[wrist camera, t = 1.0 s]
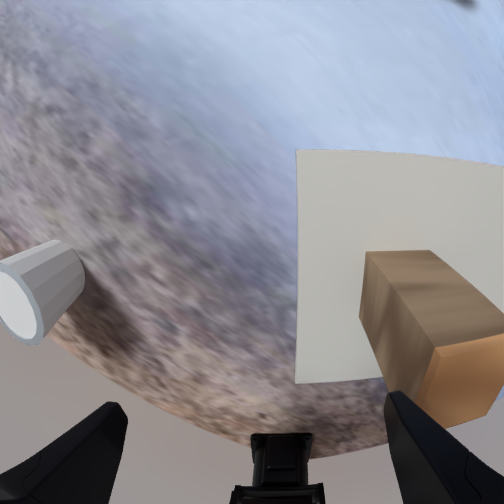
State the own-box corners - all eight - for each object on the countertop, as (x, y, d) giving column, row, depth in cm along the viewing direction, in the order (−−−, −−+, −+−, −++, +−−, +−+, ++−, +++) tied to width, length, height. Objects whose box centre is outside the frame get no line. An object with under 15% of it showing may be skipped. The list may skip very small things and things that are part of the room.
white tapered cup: (99, 306, 23) (56, 353, 17) (47, 302, 24) (4, 339, 17) (80, 229, 21) (23, 261, 14) (28, 235, 22) (-24, 262, 15)
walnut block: (418, 311, 20) (485, 415, 10) (358, 316, 20) (404, 438, 10) (429, 249, 18) (526, 336, 8) (365, 251, 19) (441, 357, 8)
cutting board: (506, 344, 22) (511, 349, 21) (294, 375, 24) (295, 383, 23) (544, 175, 16) (551, 177, 15) (295, 149, 18) (296, 149, 17)
